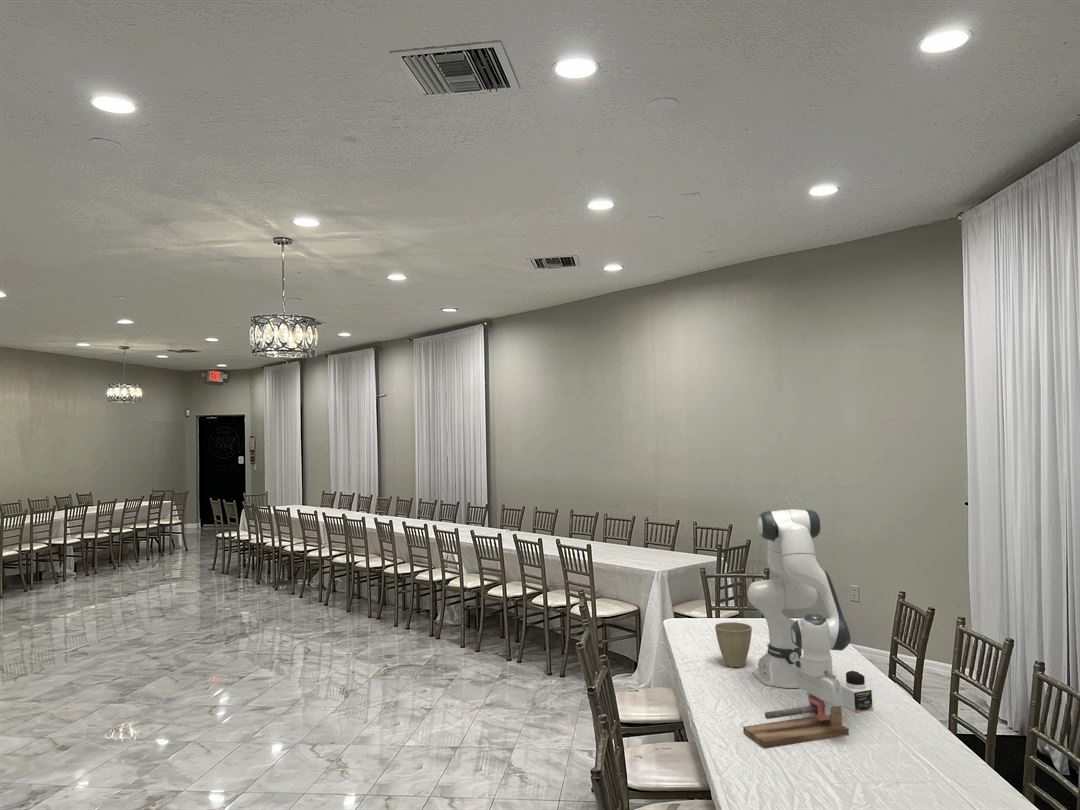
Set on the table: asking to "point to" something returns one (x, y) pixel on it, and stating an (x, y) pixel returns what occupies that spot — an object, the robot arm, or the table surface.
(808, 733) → the rod stand
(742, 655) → the plant pot
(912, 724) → the table surface
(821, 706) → the square nut
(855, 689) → the medicine bottle
